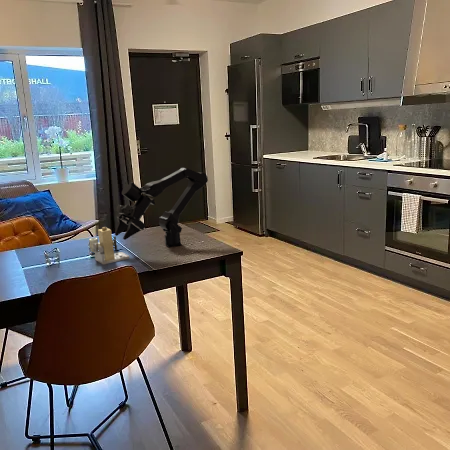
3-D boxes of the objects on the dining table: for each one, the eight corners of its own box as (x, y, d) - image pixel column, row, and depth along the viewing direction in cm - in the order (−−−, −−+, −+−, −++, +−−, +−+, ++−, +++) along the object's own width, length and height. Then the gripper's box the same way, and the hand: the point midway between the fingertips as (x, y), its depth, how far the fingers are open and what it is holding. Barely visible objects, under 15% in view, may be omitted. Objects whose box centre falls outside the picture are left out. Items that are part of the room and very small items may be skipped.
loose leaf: (110, 255, 207) (106, 225, 204) (114, 258, 203) (111, 227, 200) (101, 257, 205) (97, 227, 202) (105, 260, 201) (101, 229, 198)
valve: (90, 255, 214) (117, 252, 217) (88, 241, 213) (115, 238, 215) (91, 251, 221) (117, 248, 223) (89, 237, 219) (115, 234, 221)
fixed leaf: (121, 254, 212) (119, 237, 211) (129, 258, 205) (127, 241, 203) (94, 260, 206) (92, 243, 204) (101, 264, 198) (99, 247, 197)
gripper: (117, 195, 212) (97, 223, 209) (135, 199, 197) (113, 230, 194) (136, 208, 218) (116, 237, 215) (154, 214, 203) (133, 245, 200)
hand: (119, 237), depth 206 cm, fingers open, 9 cm apart
